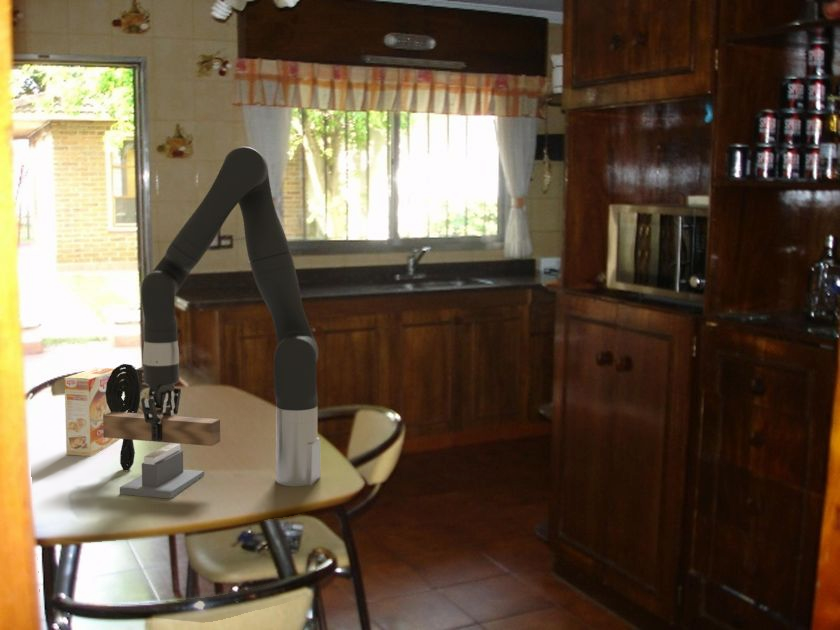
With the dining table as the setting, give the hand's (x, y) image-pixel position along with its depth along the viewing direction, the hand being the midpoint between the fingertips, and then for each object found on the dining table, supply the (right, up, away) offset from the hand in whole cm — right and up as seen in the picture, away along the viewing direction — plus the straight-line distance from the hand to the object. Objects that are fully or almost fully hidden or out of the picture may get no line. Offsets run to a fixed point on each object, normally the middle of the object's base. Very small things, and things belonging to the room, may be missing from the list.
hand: (162, 437), depth 207 cm
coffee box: (-18, -4, +58) cm, 61 cm away
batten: (0, 0, 0) cm, 0 cm away
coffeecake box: (-26, -7, +31) cm, 41 cm away
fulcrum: (0, -11, +1) cm, 11 cm away
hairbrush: (-12, -9, +13) cm, 20 cm away
